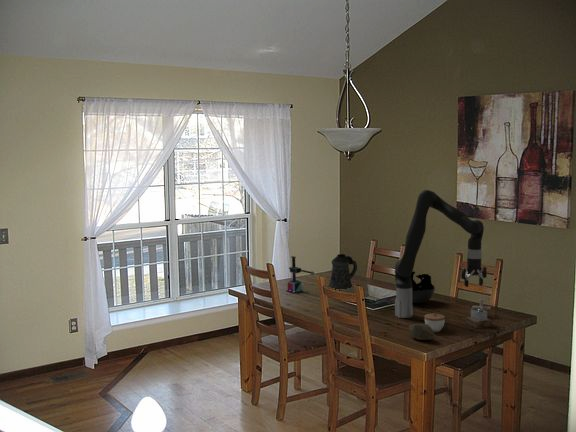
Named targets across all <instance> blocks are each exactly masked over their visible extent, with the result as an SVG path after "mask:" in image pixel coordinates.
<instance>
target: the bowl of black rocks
mask: <svg viewBox="0 0 576 432" xmlns="http://www.w3.org/2000/svg"><path fill="white" fill-rule="evenodd" d="M415 274H416V271H414V270H413V272H412V273H411V280H412V304H413V303H414V304H424V303H426V302H428V301H429V300H431V299H432V297H433V296H434V293H435V290H436V287H435V285H434V284H433V283H432V275H430V274H429V273H421V274H418V275H415ZM414 275H415V277H416V278H417V279H420V281H419V282H417V281H415V280H414ZM416 282H417V283H416Z"/></svg>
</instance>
